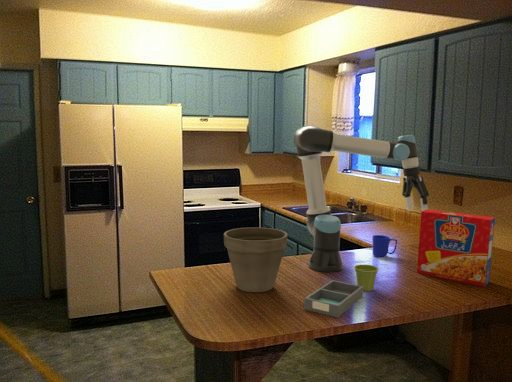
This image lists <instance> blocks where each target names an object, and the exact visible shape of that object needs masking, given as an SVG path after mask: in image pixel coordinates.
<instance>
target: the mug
mask: <svg viewBox="0 0 512 382" xmlns="http://www.w3.org/2000/svg"><path fill="white" fill-rule="evenodd" d="M391 241H392V242H393V241H394V242H395V244H394V245H395V246H394V249H393V250H392V252H391V251H390V252H389V245H390V243H391ZM397 246H398V240H397V239H396V238H390V237H389V236H387V235H383V234H375V235H372V255H373V256H374V257H376V258H386V257H387V256H388V255H393V254H395V252H396V250H397Z"/></svg>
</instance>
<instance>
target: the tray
mask: <svg viewBox="0 0 512 382" xmlns="http://www.w3.org/2000/svg"><path fill="white" fill-rule="evenodd" d="M363 297H364V290H363V286H358V285H357V284H352V283H348V282H343V281H338V280H331V281H329V282H327V283H326V284H324V285H322V286H321V287H319V288H317V290H314V292H311V293H310V294H308V295H307V296H305V297H304V301H303V302H304V303H303V304H304V305H303V306H304V307H303V309H304V310H306V311H310V312H314V313H319V314H323V315H327V316H331V317H335V318H339V317H341V316H342V315H343V314H344V313H345V312H346V311H348V310H349V309H350V308H351V307H352V306H353V305H355V304H356V303H357V302H359V300H361V299H362V298H363Z"/></svg>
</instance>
